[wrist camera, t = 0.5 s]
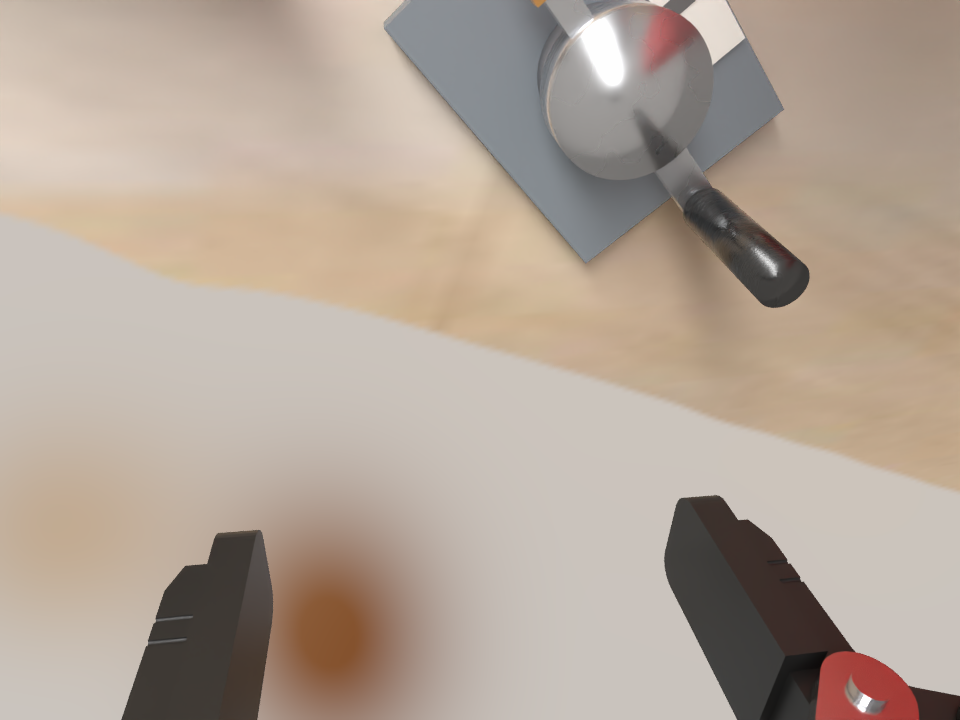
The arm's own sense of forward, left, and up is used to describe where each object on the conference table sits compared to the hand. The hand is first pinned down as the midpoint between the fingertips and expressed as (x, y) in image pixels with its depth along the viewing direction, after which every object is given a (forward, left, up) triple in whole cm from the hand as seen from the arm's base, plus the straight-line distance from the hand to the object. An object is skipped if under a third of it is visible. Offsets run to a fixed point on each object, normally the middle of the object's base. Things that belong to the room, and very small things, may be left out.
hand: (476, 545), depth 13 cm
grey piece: (-9, +2, -18) cm, 20 cm away
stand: (-9, +2, -22) cm, 23 cm away
